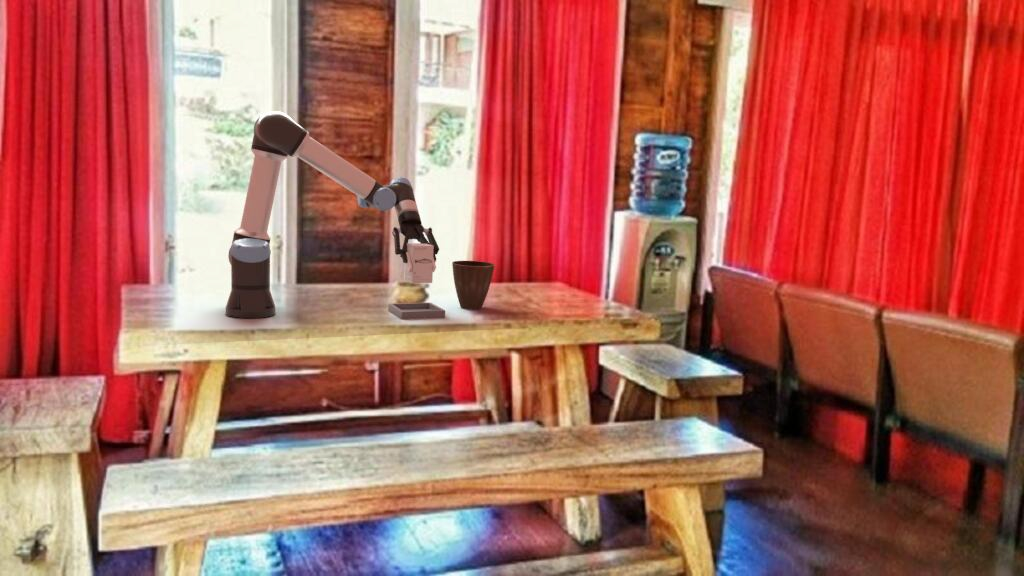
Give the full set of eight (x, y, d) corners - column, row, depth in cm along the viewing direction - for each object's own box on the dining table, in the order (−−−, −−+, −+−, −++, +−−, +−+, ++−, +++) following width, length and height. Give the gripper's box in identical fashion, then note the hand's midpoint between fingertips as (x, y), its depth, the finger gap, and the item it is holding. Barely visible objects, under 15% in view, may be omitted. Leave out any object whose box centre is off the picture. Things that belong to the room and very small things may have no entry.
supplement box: (411, 283, 263) (413, 245, 261) (404, 280, 270) (405, 242, 268) (433, 283, 267) (434, 245, 265) (424, 279, 273) (425, 242, 271)
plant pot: (484, 303, 296) (486, 260, 293) (498, 311, 282) (500, 266, 280) (445, 304, 291) (447, 260, 288) (457, 312, 277) (459, 266, 274)
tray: (401, 319, 260) (401, 312, 260) (388, 310, 273) (388, 303, 273) (445, 317, 266) (445, 310, 266) (430, 309, 280) (430, 302, 279)
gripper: (433, 223, 283) (448, 276, 272) (377, 223, 275) (389, 277, 263) (439, 209, 278) (454, 262, 266) (381, 208, 269) (394, 263, 257)
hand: (422, 269), depth 265 cm, fingers closed on supplement box, 7 cm apart
